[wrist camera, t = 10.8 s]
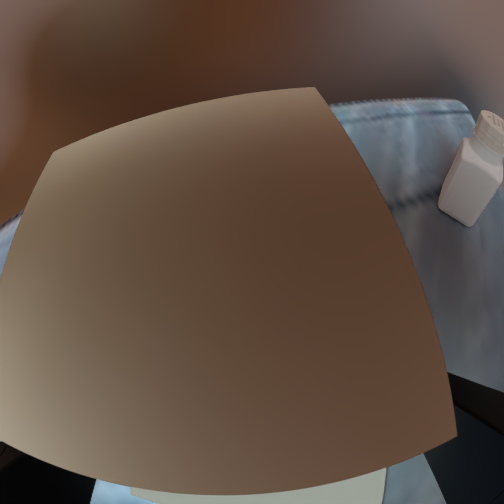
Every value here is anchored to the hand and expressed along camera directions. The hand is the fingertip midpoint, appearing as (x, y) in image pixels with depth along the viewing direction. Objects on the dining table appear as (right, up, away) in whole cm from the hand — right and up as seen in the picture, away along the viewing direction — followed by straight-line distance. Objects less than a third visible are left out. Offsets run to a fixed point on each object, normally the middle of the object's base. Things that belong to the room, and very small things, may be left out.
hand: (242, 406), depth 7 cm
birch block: (+1, -3, +8) cm, 8 cm away
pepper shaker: (+18, +8, +13) cm, 24 cm away
